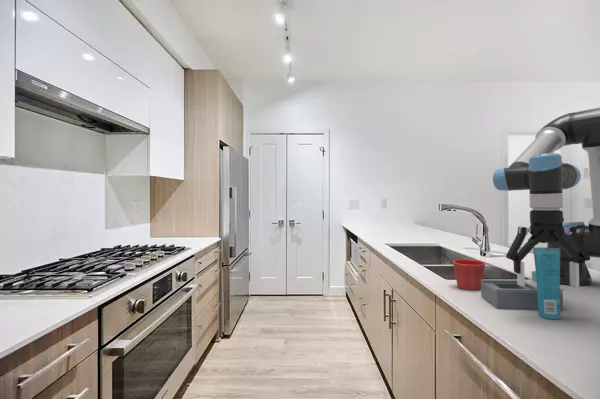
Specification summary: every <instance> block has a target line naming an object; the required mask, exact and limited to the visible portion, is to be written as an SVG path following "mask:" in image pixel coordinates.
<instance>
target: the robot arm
mask: <svg viewBox="0 0 600 399" xmlns="http://www.w3.org/2000/svg"><path fill="white" fill-rule="evenodd" d="M579 144H580V145H581V149H582V150H583V151H585V152H587V155H588V168H589V179H590V192H591V205H592V213H593V215H592V216H593V218H592V219H590V220H589V221H588V225H586V223H585V221H572V222H571V221H569V222H564V212H563V211H562V210H561V209H562V208H564V203H563V190H568V189H571V188H574V187H575V186H577V185H578V184H579V183H580V181H581V178H582V177H581V176H582V175H581V171H580V170H579V168H578V167H577V166H575V165H573V164H570V163H567V162H565V163H564V162H563V160H562V155H561V153H557V152H556V153H555V151H558V150H560V149H562V148H563V147H566V146H570V145H579ZM492 183H493V186H494V188H495V189H496V190H498V191H507V192H510V191H527V190H528V191H529V208H530V209H532V210H530V211H529V222H530V223H529V224H530V225H529V227H525V226H518V227H517V232H516V233H517V234H516V236H515V238H514V239H513V242H512V243H511V246H510V247H509V249H508V251H507V253H506V255H505V258H507V259H508V260H511V261H512V262H513V272H514V273H515V274H516V276H517V277H516V280H517V284H519V285H521V286H525V280H526V277H525V276H526V274H525V262H524V261H523V260H524V258H526V257H527V255H528V254H529V253H530V252H531V251H532V250H533V248H535V247H536V245H539V244H540V243H541V244H547V245H546V246H547V247H546V248H560V285H568V286H573V287H575V288H580V286H590V285H592V283H593V282H592V276H591V273H590V271H589V269H588V266H587V264H586V261H590V260H591V258H598V259H599V258H600V107H595V108H590V109H586V110H581V111H576V112H575V111H574V112H569V113H566V114H563V115H561V116H559V117H557V118H554V119H553V120H551V121H550V122H548V123H546V124H545V125H544V126H543V127H542V128H541V129H539V130H538V132H537V133H536V135H535V138H534V140H533V141H532V142H531V143H530V144H529V145H528V146H527V147H525V149H524V151H522V153H521V154H520V155H519V156H518V157H516V159H515V160H514V161H513V162H512V163H511V164H510V165H509V166H508V167H503V168H502V167H501V168H496V169H495V171H494V172H493V175H492ZM529 233H530V235H531V236H530V237H529V238H528V239H527V241H526V243H524V245H523V242H524V240H525V239H526V237H527V235H528V234H529ZM522 245H523V246H522ZM521 246H522V247H521Z"/></svg>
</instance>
